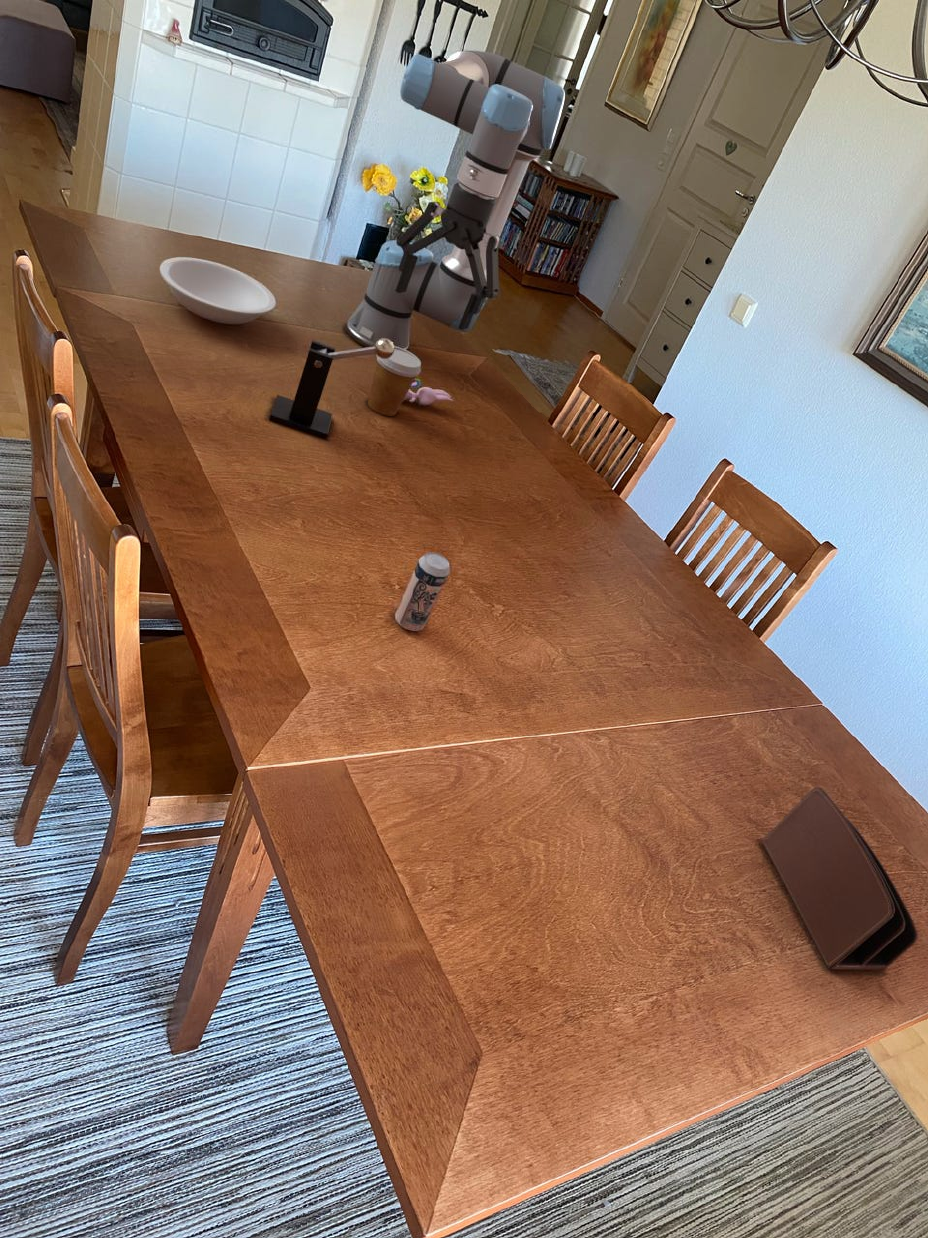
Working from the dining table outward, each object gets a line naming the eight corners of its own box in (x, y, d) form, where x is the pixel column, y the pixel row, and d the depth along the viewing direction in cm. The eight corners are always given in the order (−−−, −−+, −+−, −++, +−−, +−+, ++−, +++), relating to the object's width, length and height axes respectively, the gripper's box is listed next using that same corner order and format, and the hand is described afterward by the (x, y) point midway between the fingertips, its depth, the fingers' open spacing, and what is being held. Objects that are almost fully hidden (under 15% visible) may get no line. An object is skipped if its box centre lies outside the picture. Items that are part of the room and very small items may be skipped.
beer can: (401, 633, 137) (429, 571, 131) (389, 612, 140) (416, 550, 133) (428, 632, 140) (457, 571, 133) (416, 612, 143) (444, 551, 136)
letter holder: (827, 971, 117) (897, 908, 110) (759, 841, 132) (816, 777, 124) (884, 971, 121) (956, 910, 113) (812, 845, 136) (871, 784, 128)
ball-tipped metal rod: (396, 352, 170) (392, 333, 168) (395, 360, 167) (391, 341, 165) (315, 364, 171) (311, 346, 169) (313, 372, 169) (308, 353, 166)
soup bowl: (284, 323, 208) (292, 296, 204) (240, 353, 188) (247, 323, 184) (187, 276, 207) (193, 248, 203) (132, 301, 187) (137, 270, 183)
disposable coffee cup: (406, 407, 198) (426, 357, 191) (399, 425, 190) (419, 373, 184) (365, 390, 197) (383, 339, 190) (356, 407, 189) (374, 354, 182)
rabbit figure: (388, 409, 197) (454, 413, 203) (393, 384, 194) (460, 388, 199) (382, 395, 202) (446, 398, 207) (386, 370, 198) (452, 374, 203)
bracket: (330, 418, 181) (353, 350, 173) (326, 439, 174) (349, 369, 166) (275, 399, 178) (296, 329, 170) (268, 420, 171) (289, 347, 163)
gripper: (404, 156, 152) (364, 278, 164) (531, 226, 148) (480, 346, 160) (425, 156, 158) (385, 274, 170) (547, 224, 154) (497, 340, 166)
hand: (431, 309), depth 165 cm, fingers open, 13 cm apart
